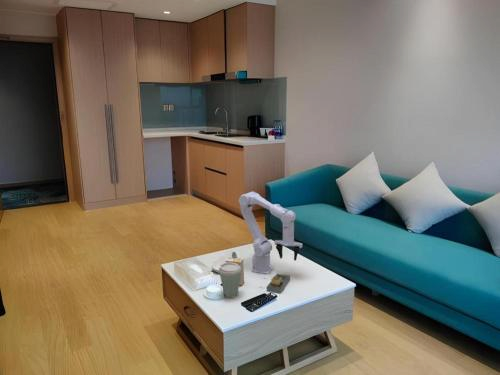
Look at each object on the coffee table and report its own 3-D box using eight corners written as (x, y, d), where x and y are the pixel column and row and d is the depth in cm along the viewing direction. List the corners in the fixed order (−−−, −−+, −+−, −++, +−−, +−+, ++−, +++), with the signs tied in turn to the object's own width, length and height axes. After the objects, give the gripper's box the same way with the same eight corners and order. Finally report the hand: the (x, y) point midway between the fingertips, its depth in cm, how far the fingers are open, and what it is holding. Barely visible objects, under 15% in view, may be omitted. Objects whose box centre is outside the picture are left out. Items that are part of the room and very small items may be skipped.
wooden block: (271, 289, 190) (271, 278, 189) (274, 286, 193) (273, 275, 192) (279, 290, 188) (279, 279, 187) (281, 287, 192) (281, 276, 191)
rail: (266, 291, 188) (266, 286, 187) (277, 277, 202) (277, 273, 202) (280, 293, 185) (280, 288, 185) (289, 279, 200) (289, 275, 199)
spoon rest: (228, 276, 205) (228, 264, 204) (208, 274, 209) (207, 262, 207) (242, 260, 227) (242, 248, 226) (224, 258, 231) (223, 246, 229)
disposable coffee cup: (244, 290, 189) (243, 262, 186) (238, 301, 179) (237, 271, 176) (223, 288, 191) (222, 260, 188) (216, 299, 181) (215, 269, 178)
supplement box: (244, 282, 198) (244, 258, 195) (241, 286, 193) (240, 262, 191) (229, 280, 200) (228, 256, 198) (226, 284, 196) (225, 260, 193)
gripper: (272, 235, 198) (272, 259, 201) (299, 238, 193) (299, 263, 195) (276, 230, 204) (276, 255, 207) (303, 233, 199) (303, 258, 202)
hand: (288, 258), depth 202 cm, fingers open, 7 cm apart
